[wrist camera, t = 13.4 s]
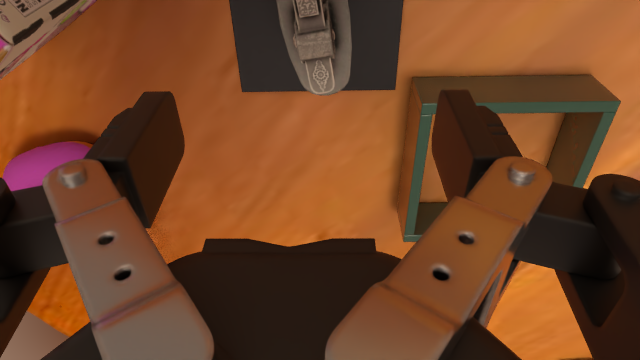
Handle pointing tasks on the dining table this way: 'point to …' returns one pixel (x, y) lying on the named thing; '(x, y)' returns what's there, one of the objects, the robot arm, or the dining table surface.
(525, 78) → the frame
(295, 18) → the lighter
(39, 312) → the dining table surface
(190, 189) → the dining table surface
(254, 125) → the dining table surface
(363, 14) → the mat
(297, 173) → the dining table surface
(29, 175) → the donut
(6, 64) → the candy bar box
